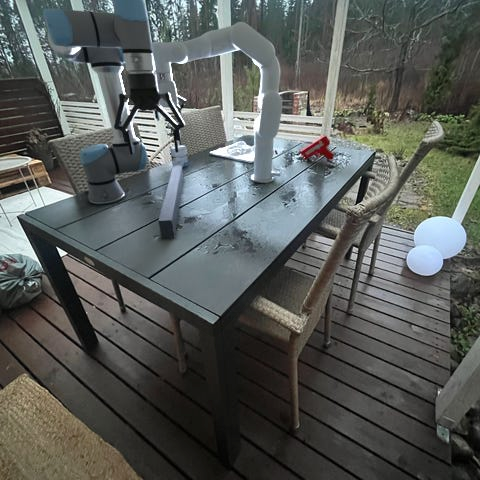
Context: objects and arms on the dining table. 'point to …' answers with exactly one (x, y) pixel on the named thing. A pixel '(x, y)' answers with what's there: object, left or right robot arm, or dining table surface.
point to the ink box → (179, 156)
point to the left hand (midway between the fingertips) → (155, 152)
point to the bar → (171, 204)
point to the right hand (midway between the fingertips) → (169, 120)
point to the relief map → (237, 152)
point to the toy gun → (318, 149)
